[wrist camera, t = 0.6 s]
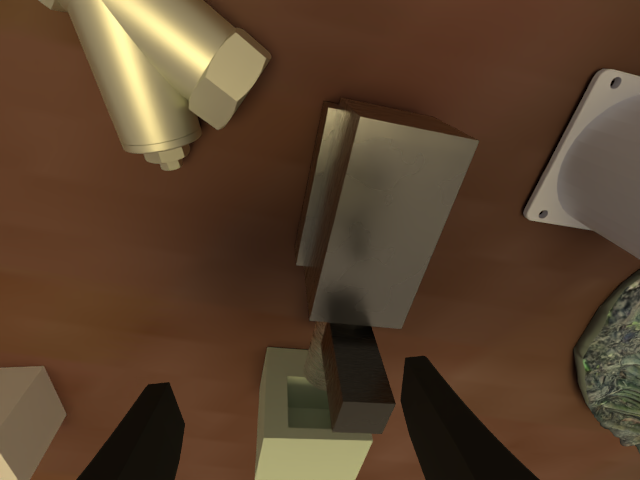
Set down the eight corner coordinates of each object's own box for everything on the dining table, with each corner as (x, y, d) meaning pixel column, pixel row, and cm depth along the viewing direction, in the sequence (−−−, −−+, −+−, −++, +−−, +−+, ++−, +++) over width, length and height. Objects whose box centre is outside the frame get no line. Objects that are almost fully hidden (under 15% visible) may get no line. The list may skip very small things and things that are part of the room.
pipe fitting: (196, 166, 18) (274, 52, 16) (174, 201, 15) (267, 65, 12) (27, 55, 15) (88, -111, 13) (-47, 68, 12) (14, -151, 9)
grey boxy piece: (425, 110, 17) (489, 142, 12) (377, 257, 21) (409, 329, 16) (325, 89, 16) (348, 114, 11) (294, 246, 20) (300, 319, 15)
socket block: (352, 353, 25) (372, 440, 20) (339, 390, 27) (354, 480, 22) (267, 347, 24) (263, 437, 19) (259, 386, 26) (254, 479, 20)
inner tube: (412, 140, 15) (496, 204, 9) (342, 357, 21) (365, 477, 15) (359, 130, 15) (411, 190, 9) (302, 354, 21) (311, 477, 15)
